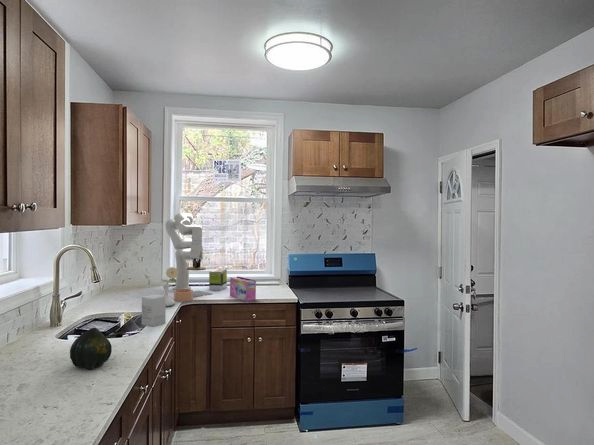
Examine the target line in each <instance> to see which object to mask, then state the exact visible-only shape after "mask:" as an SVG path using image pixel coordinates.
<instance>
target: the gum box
mask: <svg viewBox="0 0 594 445" xmlns="http://www.w3.org/2000/svg"><path fill="white" fill-rule="evenodd" d="M229 278H230V279H229V296H230V297H233V298H236V299H238V300H243V301H244V302H250V301H255V300H257V299H256V298H257V297H256V295H257V293H256V291H257V290H256V288H257V280H254V279H252V278H251V279H250V278H245V277H242V276H236V277H229Z"/></svg>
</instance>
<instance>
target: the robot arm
mask: <svg viewBox="0 0 594 445" xmlns="http://www.w3.org/2000/svg"><path fill="white" fill-rule="evenodd" d="M193 221H194V217H193V215H192V213H176V214H175V215H174V217H173V219H171V218H170V219H168V220H166V222H165V230H166V233H167V234H168V236H169V237H170V240H171V243H172V245H173V248H174V249H175V250H176V251H175V253H174V254H175V256H174V257H175V263H176V266H175V268H176V270H177V271H178V276H177V277H175V280H176V282H174V287H173V289H174V290H179V289H191V290H192V287H191V286H189V285H190V270H187V268H188V267H190V265H189V263H188V262H187V261H192V267H194V261H197V262H196V268H200V267H201V262H202V260H203V259H204V254H203V253H204V251H203V250H204V249H203V227H202V225H196V224H194V225H193ZM191 224H192V225H191ZM182 235H183V236H191V238H189V237H188V238H187V237H186V238H183V237H182Z"/></svg>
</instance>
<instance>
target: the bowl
mask: <svg viewBox="0 0 594 445" xmlns="http://www.w3.org/2000/svg"><path fill="white" fill-rule="evenodd" d="M193 291H194V290H193V289H192V288H191V289H179V290H176V289H174V292H173V300H174V301H175V302H189V301H192V300H193V299H194V297H193Z"/></svg>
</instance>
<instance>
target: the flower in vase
mask: <svg viewBox="0 0 594 445" xmlns="http://www.w3.org/2000/svg"><path fill="white" fill-rule="evenodd" d="M165 275H166V276H167V278H169V280H165V279H162V281H163V282H167V283H162V288H163V289H164V290H163V292H164V294H163V296H165V307H170V306H174V305H175V304H176V301H175V300H174V298H172V297H170V295H169V288H170V286H171V283H169V282H172V283H176V277H177V276H178V271H177V270H176V267H173V266H170V267H169V268H166V271H165Z"/></svg>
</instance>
